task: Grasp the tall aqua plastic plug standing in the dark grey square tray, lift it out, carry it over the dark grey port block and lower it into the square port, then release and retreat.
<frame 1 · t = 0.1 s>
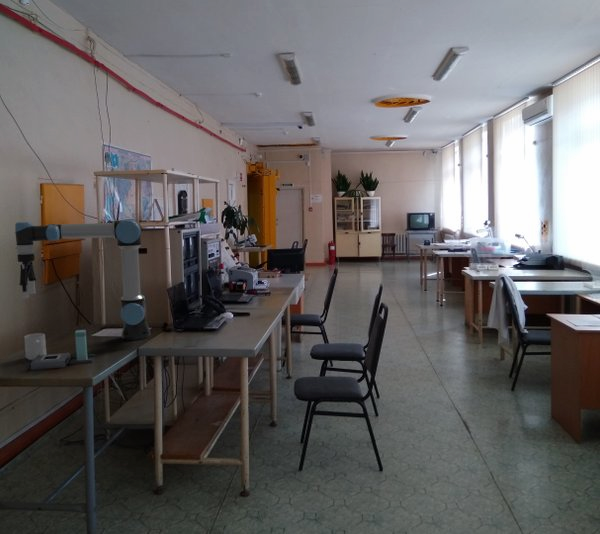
hand: (29, 295, 273), 28 cm above the table, fingers open, 13 cm apart
port: (51, 365, 250), on the table
dark grey square tray: (82, 361, 255), on the table
mug: (37, 359, 262), on the table
plug: (82, 360, 255), point 1 cm above the table, touching dark grey square tray
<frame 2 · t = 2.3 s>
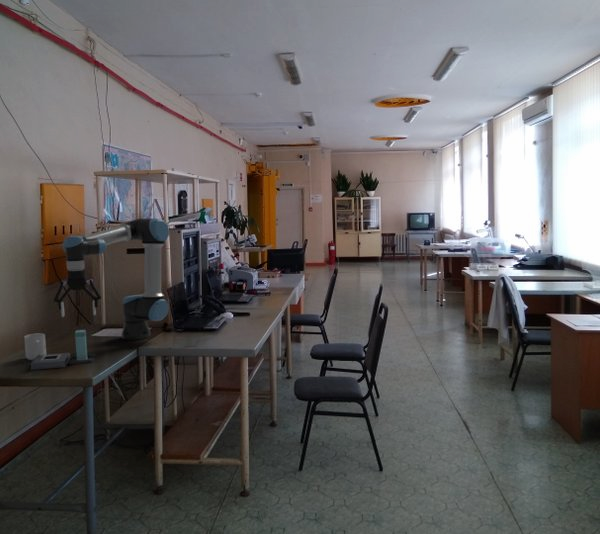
hand: (78, 315, 253), 22 cm above the table, fingers open, 13 cm apart
nothing on the table moved.
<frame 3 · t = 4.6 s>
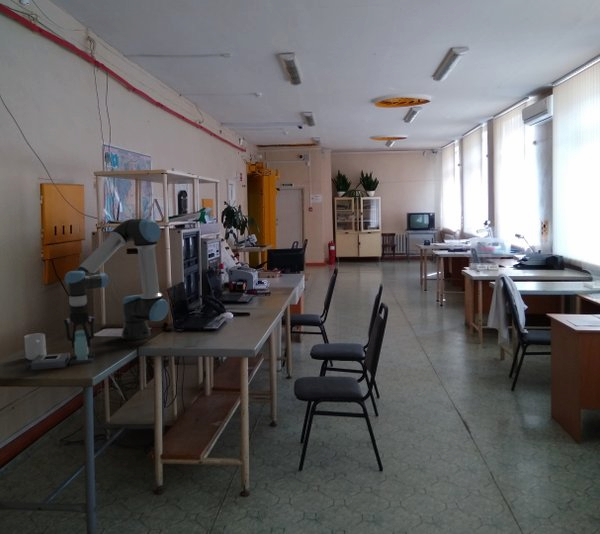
hand: (81, 354, 255), 4 cm above the table, fingers closed on plug, 4 cm apart
plug: (82, 360, 255), point 1 cm above the table, touching gripper, dark grey square tray
everything else where it was.
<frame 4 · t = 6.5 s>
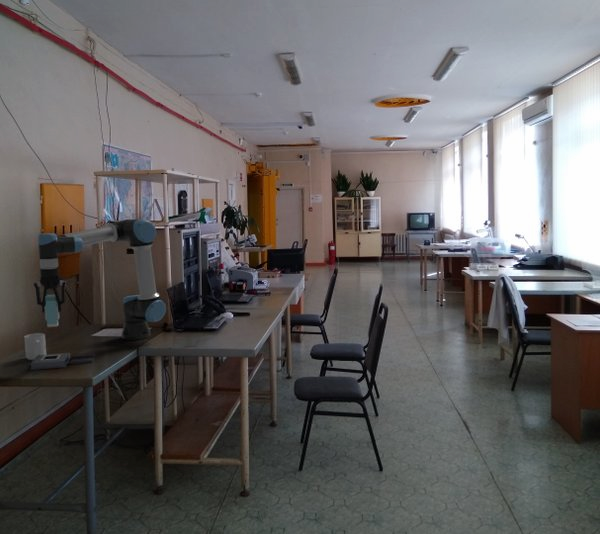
hand: (52, 319, 248), 21 cm above the table, fingers closed on plug, 4 cm apart
plug: (53, 325, 249), point 18 cm above the table, touching gripper
everything else where it was.
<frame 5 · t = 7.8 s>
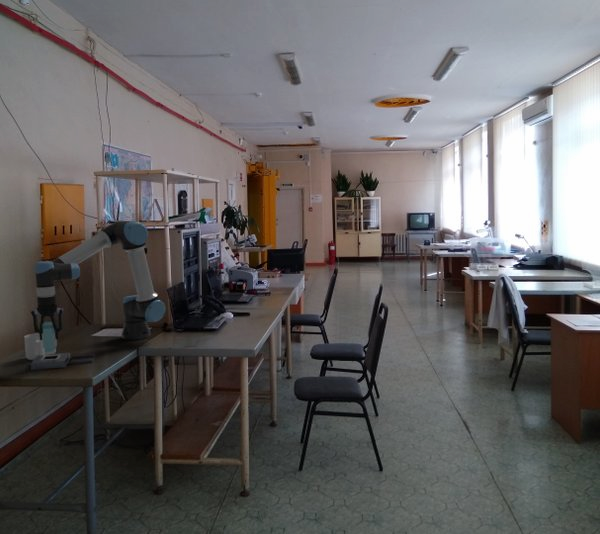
hand: (50, 346, 249), 9 cm above the table, fingers closed on plug, 4 cm apart
plug: (50, 353, 250), point 6 cm above the table, touching gripper
everything else where it was.
when the fingers open (6 cm above the table, at t = 8.7 s): plug drops 3 cm, resting in port.
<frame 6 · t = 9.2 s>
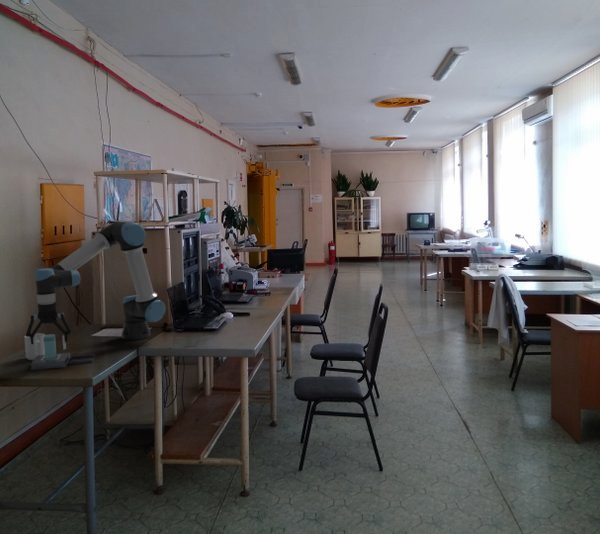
hand: (50, 350, 249), 7 cm above the table, fingers open, 11 cm apart
plug: (51, 365, 250), resting in port
everything else where it was.
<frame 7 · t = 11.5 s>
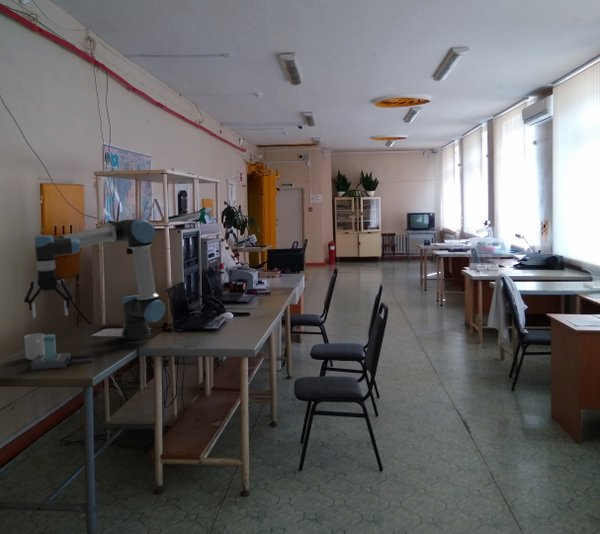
hand: (50, 316, 249), 23 cm above the table, fingers open, 13 cm apart
nothing on the table moved.
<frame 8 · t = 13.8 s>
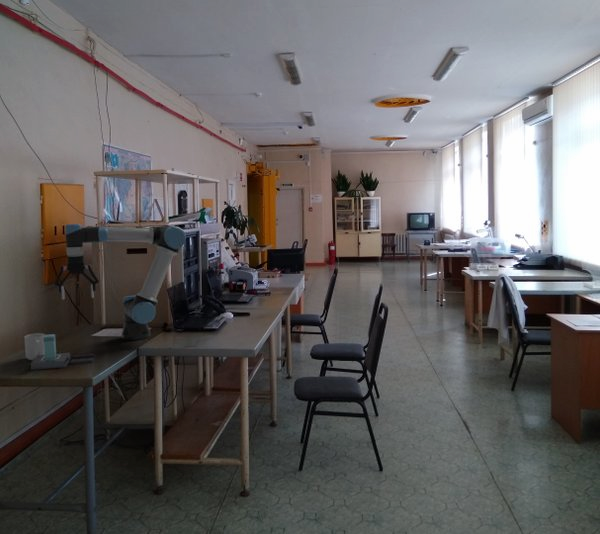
hand: (78, 298, 271), 27 cm above the table, fingers open, 13 cm apart
nothing on the table moved.
at the end: plug 0.0 cm off-centre on the port, point 0.0 cm above the port's base; plug tilted 0°; the gripper is holding nothing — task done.
